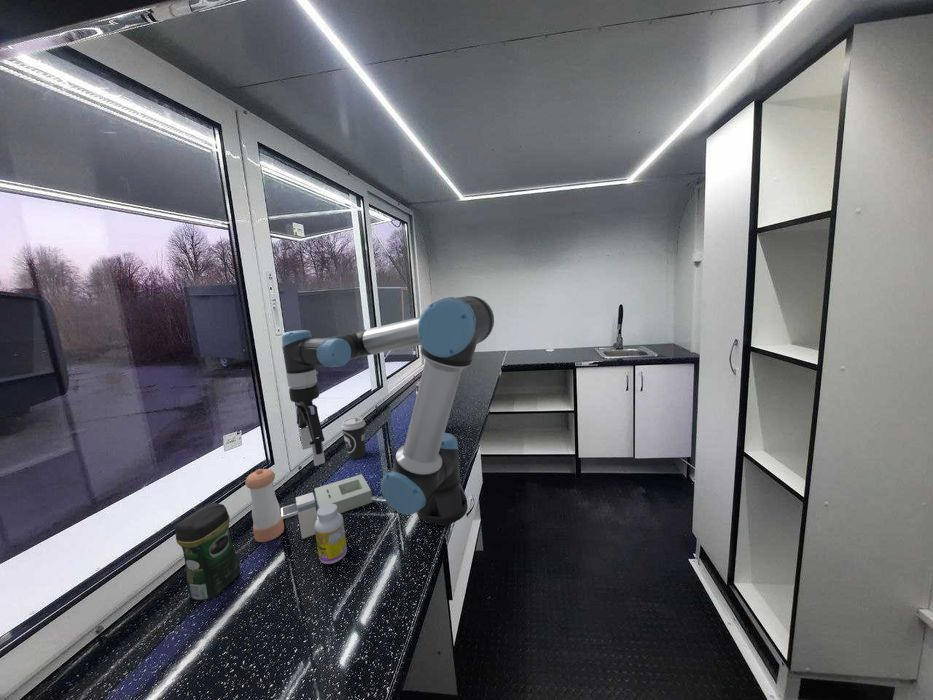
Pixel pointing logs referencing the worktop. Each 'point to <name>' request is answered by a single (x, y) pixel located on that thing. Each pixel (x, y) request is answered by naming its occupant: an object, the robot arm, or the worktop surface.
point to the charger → (306, 514)
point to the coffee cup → (354, 437)
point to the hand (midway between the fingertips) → (313, 455)
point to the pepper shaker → (264, 506)
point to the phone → (289, 511)
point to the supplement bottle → (330, 534)
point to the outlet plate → (344, 494)
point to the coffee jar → (207, 551)
